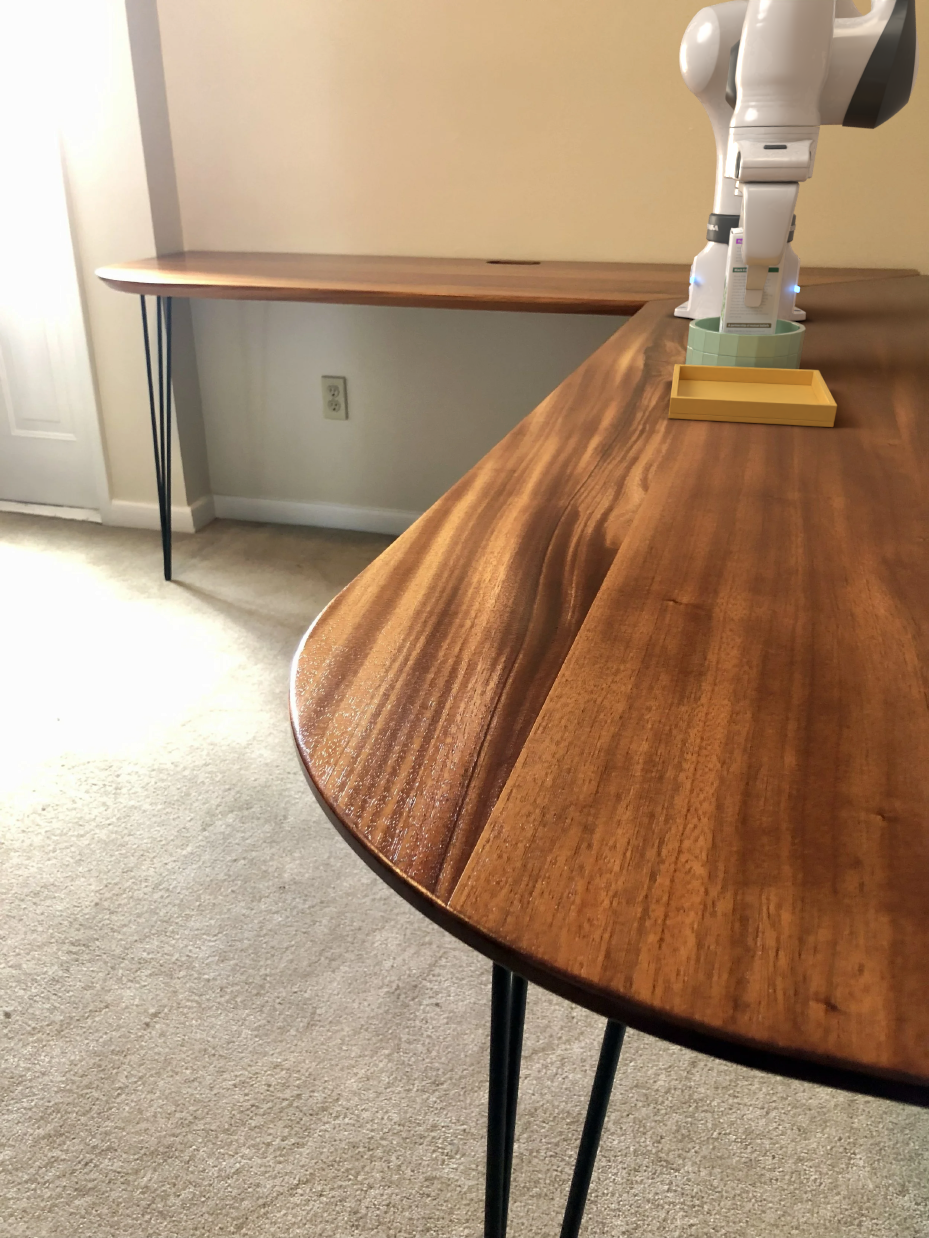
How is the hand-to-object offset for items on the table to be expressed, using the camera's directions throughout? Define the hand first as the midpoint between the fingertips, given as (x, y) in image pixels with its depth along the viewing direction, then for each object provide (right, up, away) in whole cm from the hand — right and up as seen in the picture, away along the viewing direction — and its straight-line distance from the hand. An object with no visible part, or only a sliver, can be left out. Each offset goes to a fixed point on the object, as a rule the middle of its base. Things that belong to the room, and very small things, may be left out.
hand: (750, 301), depth 97 cm
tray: (-3, -14, -9) cm, 17 cm away
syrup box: (0, -7, +3) cm, 7 cm away
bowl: (0, -7, +4) cm, 8 cm away
